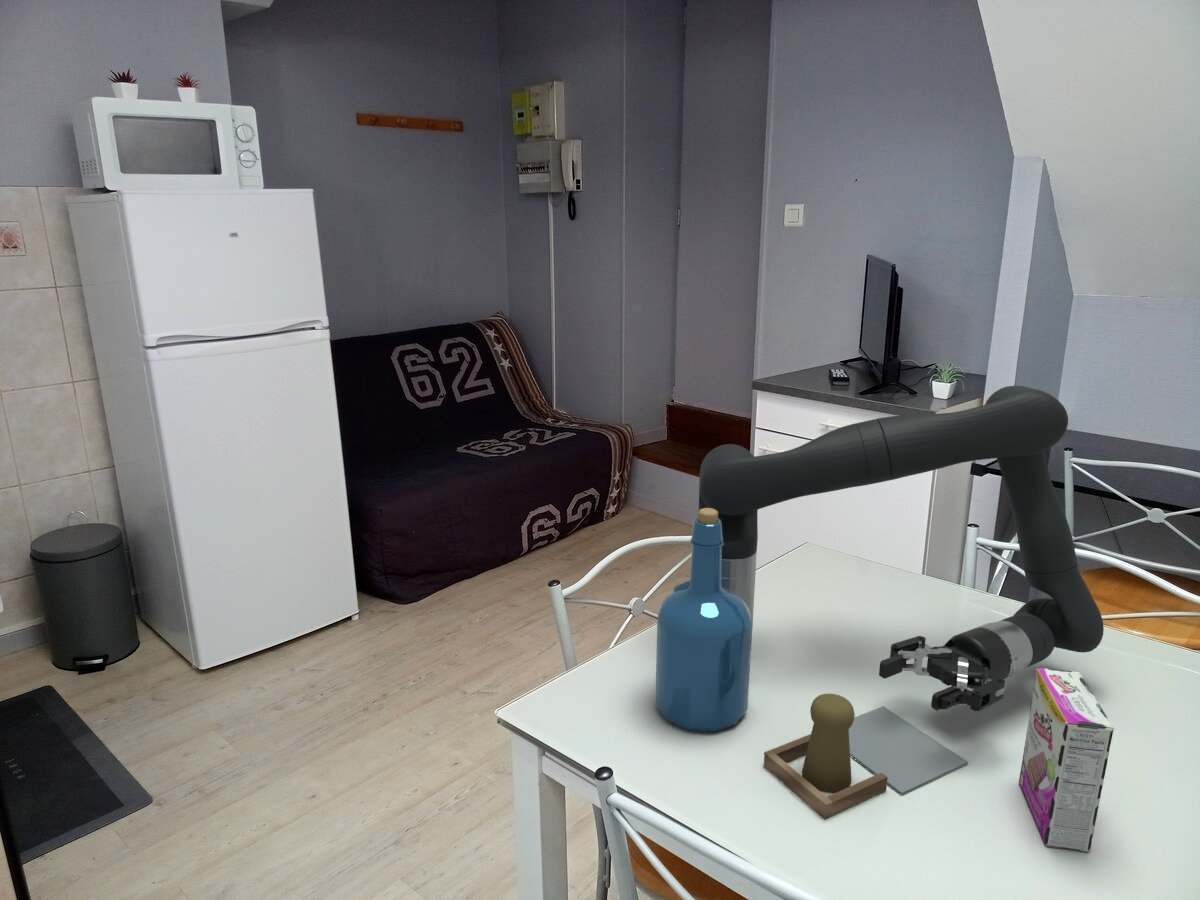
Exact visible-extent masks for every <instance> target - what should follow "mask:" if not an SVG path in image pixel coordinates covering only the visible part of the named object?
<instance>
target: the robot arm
mask: <svg viewBox="0 0 1200 900" xmlns="http://www.w3.org/2000/svg"><path fill="white" fill-rule="evenodd" d="M1067 412H1068V411H1067V410H1066V408H1065V406H1064V405H1063V404H1062V403H1061V401H1059V399H1057V398H1056V397H1055V396H1053V395H1052V394H1050V393H1048V392H1045V391H1044V390H1040V389H1036V388H1032V387H1028V386H1023V385H1010V386H1004V387H1002V388H999V389H997V390H996V391H994V392H993V393H992V394H991V395H990V396H989V397H988V398H987V400H986V401H985V404H983V405H979V406H976V407H971V408H968V409H964V410H960V411H953V412H943V413H920V414H916V413H915V414H905V415H904V414H903V415H894V416H893V415H891V416H886V417H879V418H875V419H873V418H872V419H869V420H864V421H860V422H856V423H851V424H849V425H848V424H847V425H845V426H841V427H838V428H835V429H833V430H831V431H829V432H825V433H824V434H822V435H820V436H818V437H816V438H814V439H812V440H809V441H808V442H806V443H803V444H802V445H800V446H797V447H794V448H791V449H789V450H785V451H779V452H776V453H769V454H764V455H755V456H754V454H753V453H752V452H751V451H750V450H748V449H747V448H745V447H744V446H741V445H738V444H733V443H728V444H721V445H719V446H716V447H715V448H712V450H710V451H709V452H708V453H707V454H705V457H703V460H702V463H701V464H700V470H699V483H698V485H699V486H698V487H699V489H698V513H699V511H700V509H703V508H713V509H715V510H717V511H718V519H720V520H721V523H722V536H723V542H724V545H723V546H722V561H721V586H722V587H723V588H725V589H728V590H729V591H731V592H733V593H734V594H735V595H737V596H738V597H739V598H741V599H742V600H743V601H744V602H745V603H746V605H747V606H748V609H749V611H750V615H751V622H752V628H753V623H754V607H755V606H754V605H755V589H756V574H757V573H756V572H757V555H758V554H757V550H758V541H759V540H758V538H759V537H758V536H759V535H758V534H759V532H758V530H759V529H758V525H759V524H758V515H759V514H758V512H759V511H758V510H761V509H763V508H767V507H770V506H773V505H776V504H780V503H784V502H785V501H790V500H793V499H798V498H800V497H801V498H802V497H806V496H811V495H812V496H813V495H820V494H823V493H824V494H825V493H830V492H837V491H841V490H845V489H850V488H851V489H852V488H857V487H863V486H868V485H874V484H879V483H885V482H888V481H893V480H898V479H901V478H905V477H910V476H914V475H919V474H924V473H927V472H932V471H935V470H939V469H940V470H941V469H943V468H947V467H950V466H951V467H952V466H954V465H959V464H962V463H968V462H974V461H976V462H977V461H983V460H990V459H996V460H997V464H998V467H999V469H1000V473H1001V475H1002V478H1003V482H1004V484H1005V489H1006V492H1007V496H1008V499H1009V504H1010V508H1011V512H1012V513H1011V514H1012V517H1013V521H1014V527H1015V531H1016V537H1017V542H1018V546H1019V553H1020V556H1021V561H1022V567H1023V570H1024V575H1025V579H1026V582H1027V584H1028V585H1029V586H1030V587H1031V588H1033V589H1036V591H1037V590H1038V591H1040V592H1042V593H1044V594H1047V595H1048V596H1050V597H1051V598H1047V597H1040V598H1035V599H1031V600H1029V601H1027V602H1025V604H1023V605H1022V606H1021V607H1020V608H1019V609H1018V610H1017V611H1016V612H1015V613H1014V614H1013V615H1012V616H1008V617H1007V618H1004V619H1001V620H998V621H995V622H988V623H986V624H982V625H978V626H977V627H974V628H972V629H969V630H967V631H964V632H961V633H959V634H956V635H955V634H954V636H952V637H951V638H949V639H948V640H947V642H945V644H944V645H941V646H933V647H932V646H930V645H928V644H927V643H926V637H925V636H922V635H918V636H914V637H910V638H907V639H904V640H901V641H898V642H894V643H892V644H891V645H890V651H889V653H890V654H889V657H888V658H885V659H883V660H881V661H880V662H879V668H878V669H879V670H878V675H879V677H881V678H882V679H888V678H890V677H893V676H895V675H898V674H901V673H903V672H911V673H912V672H913V673H915V675H917V676H924V677H925V676H927V677H932V678H934V679H936V680H939V681H940V682H941V683H942V684H944V685H945V686H949V687H946V688H943V689H941V690H938V691H936V692H934V693H933V694H932V696H931V704H930V708H931V709H933V710H935V711H937V712H940V711H942V710H943V711H946V710H948V709H950V708H951V709H952V708H953V707H955V706H961V707H963V706H965V705H967V706H969V708H970V710H971V711H973V712H976V713H977V712H980V711H982V710H984V709H986V708H988V707H990V706H992V705H994V704H996V703H998V702H999V701H1002V700H1003V699H1004V694H1005V686H1006V679H1008V678H1010V677H1013V676H1015V675H1017V674H1018V673H1020V672H1022V671H1023V670H1025V669H1026V668H1029V667H1031V666H1033V665H1035V664H1038V663H1040V662H1042V661H1044V660H1045V659H1047V658H1049V656H1050V655H1051V654H1052V653H1053V650H1054V649H1055V648H1057V649H1062V650H1067V651H1070V652H1076V653H1090V652H1092V651H1094V650H1095V649H1097V648H1098V646H1099V645H1100V644H1101V642H1102V641H1103V637H1104V631H1105V630H1104V620H1103V618H1102V614H1101V611H1100V609H1099V607H1098V605H1097V603H1096V601H1095V599H1094V598H1093V595H1092V594H1091V592H1090V590H1089V588H1088V586H1087V583H1086V582H1085V580H1084V578H1083V577H1082V574H1081V572H1080V570H1079V565H1078V560H1077V555H1076V549H1075V543H1074V539H1073V535H1072V532H1071V528H1070V525H1069V523H1068V522H1069V521H1068V520H1067V519H1068V518H1067V517H1066V514H1065V511H1064V509H1063V507H1062V503H1061V502H1060V499H1059V497H1058V495H1057V493H1056V491H1055V488H1054V484H1053V482H1052V479H1051V475H1050V472H1049V468H1048V463H1047V458H1046V457H1047V456H1046V451H1047V450H1050V449H1051V448H1053V447H1054V446H1055V445H1056V444H1057V443H1058V442H1060V441H1061V439H1062V438H1063V437H1064V435H1065V433H1066V432H1067V428H1068V426H1069V416H1068V415H1069V414H1068V413H1067ZM698 513H697V514H698ZM752 640H753V637H752V638H751V645H752V644H753V643H752ZM926 657H927V662H926V667H923V661H924V660H923V659H924V658H926ZM912 659H913V660H914V661H913V663H908V662H907V661H910V660H912ZM968 688H969V689H968ZM970 689H972V690H970Z"/></svg>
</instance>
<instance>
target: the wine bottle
mask: <svg viewBox="0 0 1200 900" xmlns="http://www.w3.org/2000/svg"><path fill="white" fill-rule="evenodd" d="M698 512H699V513H697V517H696V518H694V519H693V525H692V533H691V538H690V545H691V557H690V558H691V560H690V571H689V572H690V574H689V580H687V581H684V582H682V583H680V584H678V585H675V586H674V587H673V590H672V593H670V594H669V595H667V596H666V597H665V598H663V599H662V601H661V602H660V604H659V606H658V609H657V619H656V620H657V621H656V656H655V657H656V664H655V666H656V668H655V707H656V708H657V710H658V712H660V713H661V715H662V716H663V717H664V718H665V720H667V722H668V723H670V724H673V725H675V726H678V727H681V728H683V729H685V730H687V731H694V732H706V733H707V732H709V733H710V732H712V733H713V732H714V733H715V732H718V731H721V730H724V729H728V728H731V727H734V726H735V725H736V724H737V723H739V721H740V720H741V719H742V718H743V717H744V715H745V714H746V713H747V711H748V705H749V691H750V690H749V687H750V686H749V685H750V672H751V654H752V653H751V651H752V644H751V638H752V639H753V627H752V622H751V615H750V611H749V609H748V606H747V605H746V603H745V602H744V601H743V600H742V599H741V598H739V597H738V596H737V595H735V594H734V593H733V592H731V591H729V590H728V589H725V588H723V587H722V586H721V561H722V546H723V545H724V542H723V536H722V523H721V520H720V519H718V511H717V510H715V509H713V508H703V509H700V511H699V510H698Z"/></svg>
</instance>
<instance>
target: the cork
mask: <svg viewBox="0 0 1200 900" xmlns="http://www.w3.org/2000/svg"><path fill="white" fill-rule="evenodd" d="M854 710H855V709H854V706H853V704H852V703H851V702H850V700H848V699H847V698H846V697H844V696H842V695H839V694H835V693H822V694H819V695H818V696H816V697H815V698H814V699H813V701H812V702H811V706H810V709H809V712H810V716H811V718H810V719H811V721H812V722H813V725H812V729H811V732H810V734H811V736H810V741H809V745H808V749H807V753H806V755H805V757H804V762H803V766H802V770H801V776H802V777H803V778H805V779H806V780H807V781H808V782H809V783H811V784H812V785H813V786H814V787H815V788H817V789H818V790H819V791H820V792H821V793H825V794H826V793H827V794H834V793H837V792H839V791H841V790H843V789H846V788H848V787H850V786H852V782H853V781H852V763H851V757H850V744H849V728H850V727H851V726H852V724H853V721H854V717H856V716H855V715H856V713H855V711H854ZM851 781H852V782H851Z"/></svg>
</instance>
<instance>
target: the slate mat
mask: <svg viewBox="0 0 1200 900" xmlns="http://www.w3.org/2000/svg"><path fill="white" fill-rule="evenodd" d="M849 744H850V756H852V757H853V758H854V759H856V761H855V762H857V761H858V762H859V763H861V764H862V765H861V764H860V765H861V766H862V767H863V766H864V767H863V768H864V769H866V768H867V769H868V770H869V772H870V771H871V772H870V773H871V774H872V773H873V775H874V774H875V775H877V774H879V773H881V772H882V773H883V774H884V775H886V776H887V777H888V779H887V787H890V788H891V789H892V790H893V791H895V792H896V793H898V794H899V795H900V796H904V795H906V794H908V793H910V792H912V791H915V790H917V789H919V788H921V787H923V786H926V785H927V784H929V783H932V782H933V781H936V780H938V779H939V778H942V777H944V776H946V775H948V774H950V773H952V771H953V772H954V770H955V771H957V770H958V769H962V768H963V767H964V766H968V764H969V762H968V760H967V759H965V758H964V757H961V756H960V755H959V754H957V753H955V752H954V751H952V750H951V749H949V748H948V747H946V746H945V745H943V744H942V743H940V742H939V741H938V740H937V739H934V738H932V736H930V735H929V734H927V733H925V732H923V731H922V730H921V729H920V728H917V726H915V725H913V723H912V724H911V723H910V722H909V721H907V720H905V719H904V718H903V717H901V716H899V715H898V714H897V713H895V712H893V711H892V710H891V709H890V708H887V707H886V706H885V705H883V706H879V707H878V708H875V709H872V710H870V711H867V712H865V713H862V714H860V715H857V716H855V717H854V721H853V724H852V726H851V727H850V728H849ZM853 758H852V759H853ZM854 759H853V760H854ZM858 762H857V763H858ZM859 763H858V764H859ZM867 769H866V770H867ZM956 769H957V770H956ZM868 770H867V771H868ZM875 775H874V776H875ZM943 775H944V776H943ZM941 776H942V777H941ZM937 778H938V779H937ZM935 779H936V780H935Z"/></svg>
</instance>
